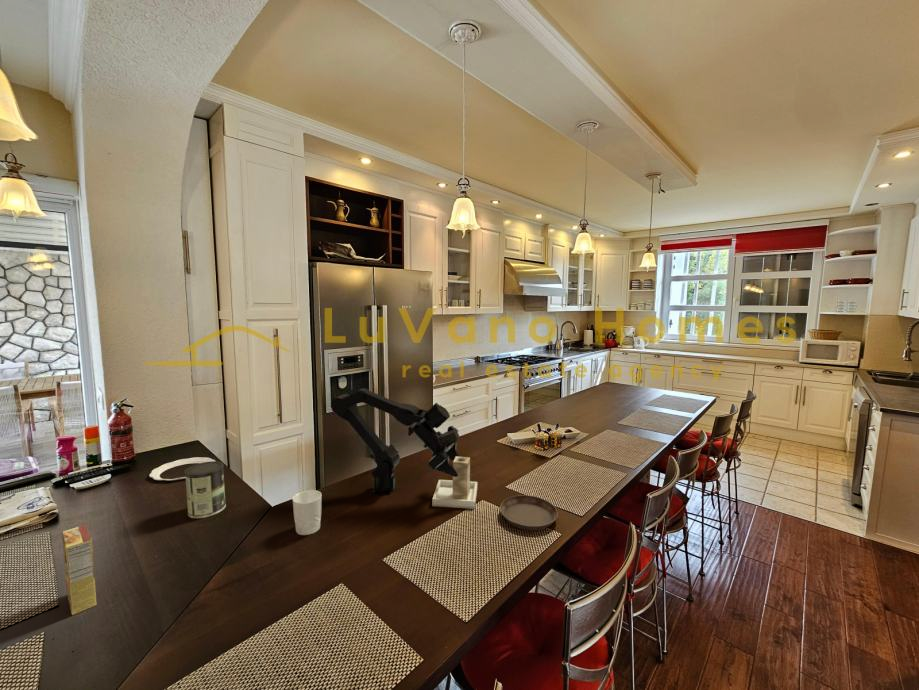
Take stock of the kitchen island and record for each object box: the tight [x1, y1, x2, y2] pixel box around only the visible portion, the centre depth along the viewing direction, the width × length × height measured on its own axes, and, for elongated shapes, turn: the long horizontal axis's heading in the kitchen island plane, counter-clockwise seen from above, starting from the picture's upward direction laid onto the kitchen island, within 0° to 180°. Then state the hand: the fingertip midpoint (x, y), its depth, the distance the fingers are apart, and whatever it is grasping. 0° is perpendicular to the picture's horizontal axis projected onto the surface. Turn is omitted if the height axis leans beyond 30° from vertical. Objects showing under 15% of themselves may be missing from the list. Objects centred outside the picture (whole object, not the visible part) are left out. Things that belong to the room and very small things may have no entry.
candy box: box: [61, 524, 97, 616], centre depth 85 cm, size 9×4×15 cm, turn 50°
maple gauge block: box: [452, 456, 471, 500], centre depth 132 cm, size 5×5×13 cm
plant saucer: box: [499, 494, 559, 532], centre depth 121 cm, size 18×18×3 cm
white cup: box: [292, 489, 322, 536], centre depth 113 cm, size 8×8×10 cm
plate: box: [148, 456, 216, 481], centre depth 151 cm, size 21×21×2 cm
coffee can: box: [184, 460, 227, 519], centre depth 123 cm, size 10×10×14 cm
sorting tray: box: [431, 479, 478, 510], centre depth 133 cm, size 14×14×2 cm
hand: (459, 470), depth 132 cm, fingers open, 9 cm apart
